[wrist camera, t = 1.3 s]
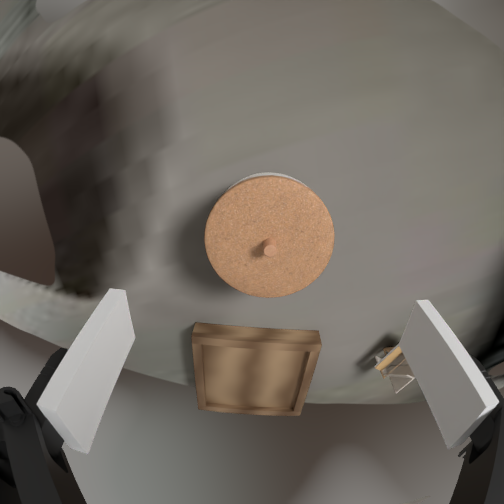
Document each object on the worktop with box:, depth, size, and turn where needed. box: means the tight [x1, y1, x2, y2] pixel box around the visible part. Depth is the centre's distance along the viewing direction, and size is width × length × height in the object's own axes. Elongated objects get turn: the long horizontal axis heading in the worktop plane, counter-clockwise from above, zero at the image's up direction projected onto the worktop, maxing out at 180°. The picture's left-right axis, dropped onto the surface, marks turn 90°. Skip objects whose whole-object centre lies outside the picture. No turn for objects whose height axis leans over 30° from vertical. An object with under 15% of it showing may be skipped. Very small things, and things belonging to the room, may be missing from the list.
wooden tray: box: [191, 322, 322, 416], centre depth 39 cm, size 16×16×3 cm
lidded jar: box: [204, 172, 334, 298], centre depth 27 cm, size 11×11×9 cm
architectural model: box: [374, 345, 415, 393], centre depth 35 cm, size 3×7×7 cm, turn 147°
